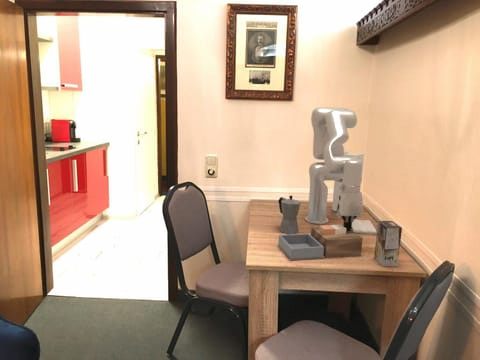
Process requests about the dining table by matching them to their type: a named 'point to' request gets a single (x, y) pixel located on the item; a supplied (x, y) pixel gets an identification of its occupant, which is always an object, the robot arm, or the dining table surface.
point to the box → (300, 247)
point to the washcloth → (363, 227)
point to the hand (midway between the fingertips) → (347, 230)
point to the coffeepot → (289, 215)
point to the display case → (339, 182)
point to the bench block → (339, 243)
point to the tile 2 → (339, 229)
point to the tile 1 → (327, 230)
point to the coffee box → (387, 243)
